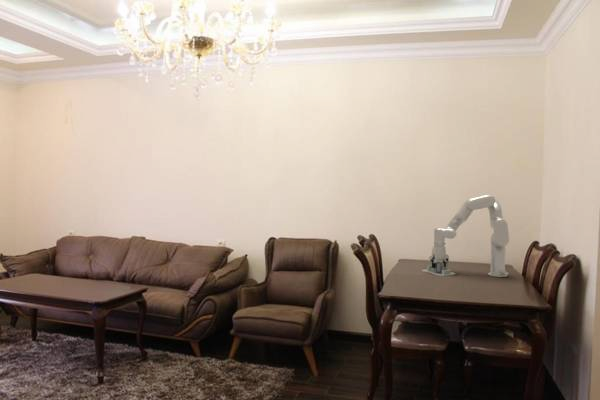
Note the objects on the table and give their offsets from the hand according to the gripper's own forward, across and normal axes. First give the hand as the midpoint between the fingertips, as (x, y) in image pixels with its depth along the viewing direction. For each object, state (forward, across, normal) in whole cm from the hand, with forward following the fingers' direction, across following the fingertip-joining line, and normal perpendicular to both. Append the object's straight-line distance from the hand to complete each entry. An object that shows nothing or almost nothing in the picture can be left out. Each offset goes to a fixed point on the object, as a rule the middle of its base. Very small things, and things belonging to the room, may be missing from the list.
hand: (438, 267), depth 342 cm
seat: (+4, 0, 0) cm, 4 cm away
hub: (+2, 0, 0) cm, 2 cm away
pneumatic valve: (+4, -13, -14) cm, 20 cm away
